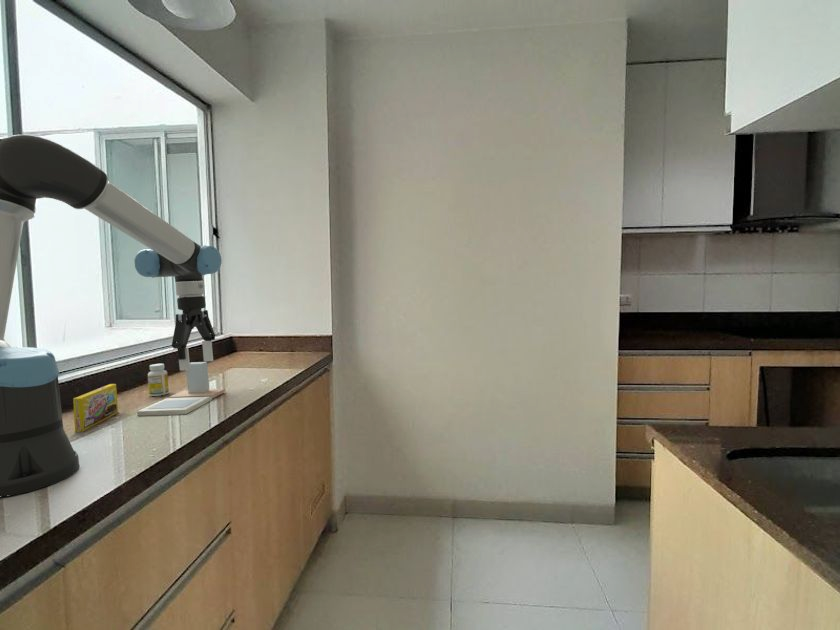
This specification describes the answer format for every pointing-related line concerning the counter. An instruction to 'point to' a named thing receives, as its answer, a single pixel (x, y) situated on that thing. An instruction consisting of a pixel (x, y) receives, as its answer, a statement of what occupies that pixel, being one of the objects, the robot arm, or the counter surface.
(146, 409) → the board
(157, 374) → the supplement bottle
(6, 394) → the robot arm
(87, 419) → the candy box
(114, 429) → the counter surface
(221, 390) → the stub
